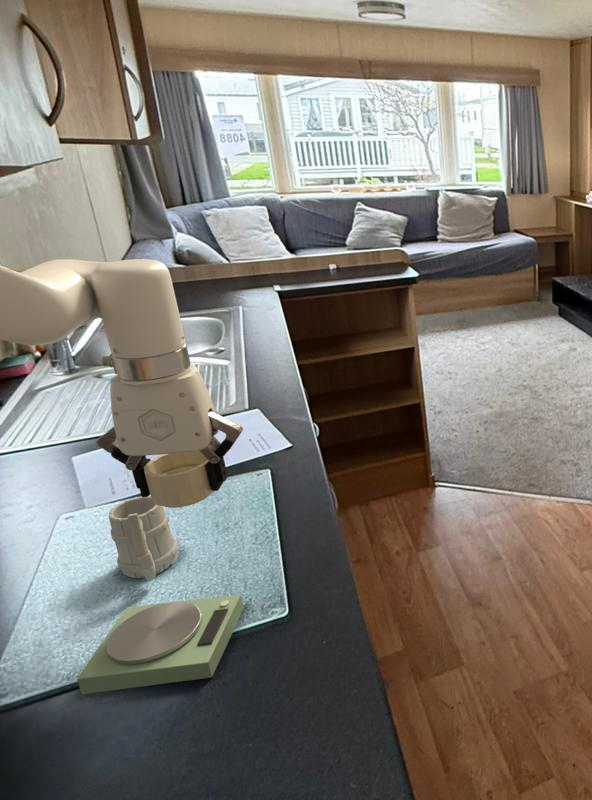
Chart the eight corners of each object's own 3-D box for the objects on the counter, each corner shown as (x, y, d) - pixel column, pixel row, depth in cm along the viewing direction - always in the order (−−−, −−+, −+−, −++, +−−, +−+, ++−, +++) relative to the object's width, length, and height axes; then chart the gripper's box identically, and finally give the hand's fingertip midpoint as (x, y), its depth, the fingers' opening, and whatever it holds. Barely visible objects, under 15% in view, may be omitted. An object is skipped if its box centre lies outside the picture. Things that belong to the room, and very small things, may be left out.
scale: (81, 694, 76) (75, 677, 75) (131, 621, 87) (126, 605, 86) (212, 677, 78) (207, 660, 77) (244, 608, 89) (240, 592, 88)
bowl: (142, 513, 81) (133, 478, 80) (167, 483, 88) (158, 450, 86) (207, 507, 83) (199, 473, 81) (226, 478, 90) (219, 446, 88)
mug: (178, 541, 103) (160, 475, 99) (185, 582, 94) (165, 511, 90) (120, 558, 99) (98, 490, 94) (121, 603, 90) (97, 530, 85)
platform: (89, 669, 76) (88, 665, 76) (131, 610, 85) (129, 606, 85) (183, 658, 77) (182, 654, 77) (213, 600, 87) (212, 597, 86)
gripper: (54, 378, 74) (95, 511, 80) (221, 369, 77) (248, 497, 83) (88, 356, 81) (124, 480, 87) (240, 349, 84) (264, 468, 90)
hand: (184, 487), depth 85 cm, fingers closed on bowl, 7 cm apart
